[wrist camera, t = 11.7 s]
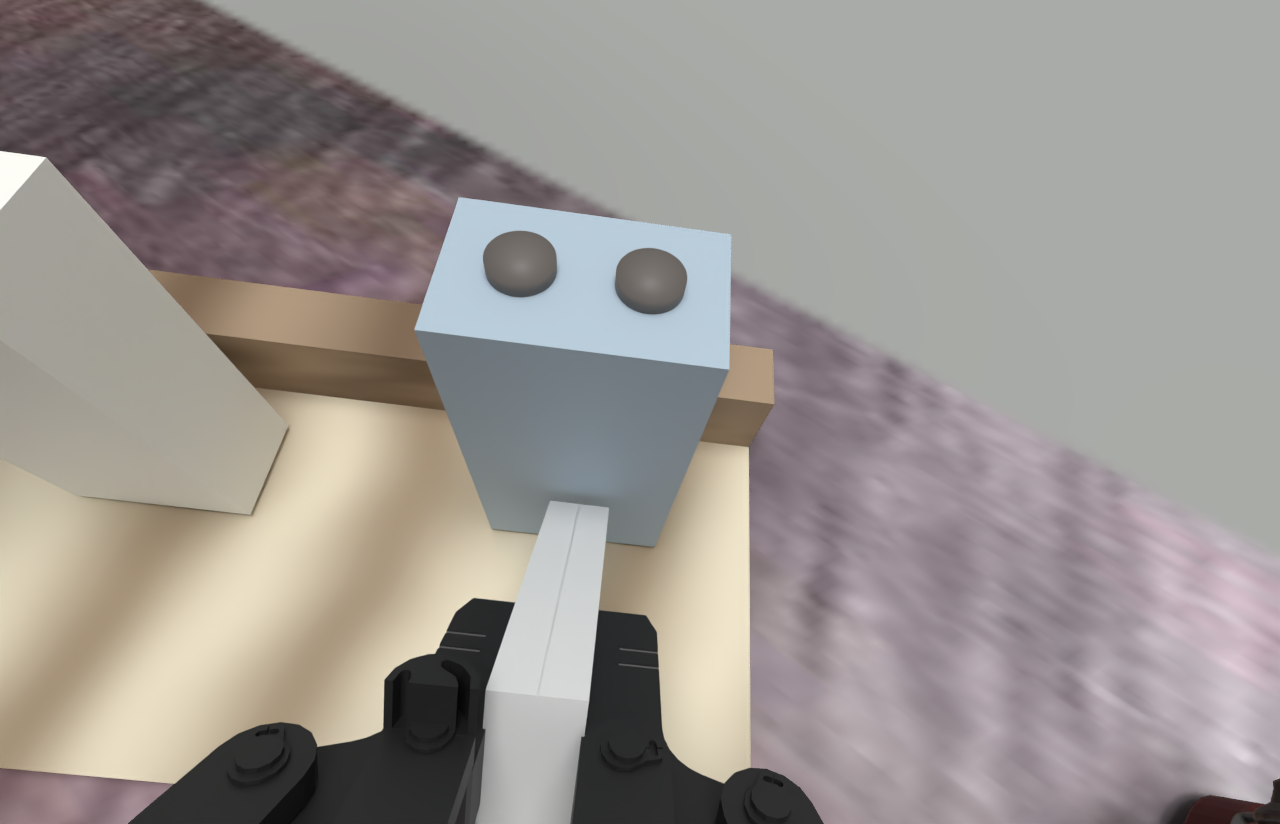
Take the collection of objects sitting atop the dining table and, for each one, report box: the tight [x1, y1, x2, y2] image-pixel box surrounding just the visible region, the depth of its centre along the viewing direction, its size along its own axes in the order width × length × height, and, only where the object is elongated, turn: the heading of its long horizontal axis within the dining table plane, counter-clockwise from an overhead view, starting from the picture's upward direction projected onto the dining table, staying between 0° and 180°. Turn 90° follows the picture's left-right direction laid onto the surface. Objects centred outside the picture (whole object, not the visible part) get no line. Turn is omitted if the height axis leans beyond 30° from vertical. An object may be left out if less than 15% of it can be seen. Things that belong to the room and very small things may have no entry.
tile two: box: [414, 197, 731, 547], centre depth 14 cm, size 5×3×10 cm, turn 85°
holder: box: [0, 270, 774, 784], centre depth 17 cm, size 23×13×4 cm, turn 85°
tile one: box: [0, 151, 288, 515], centre depth 14 cm, size 5×3×10 cm, turn 85°
